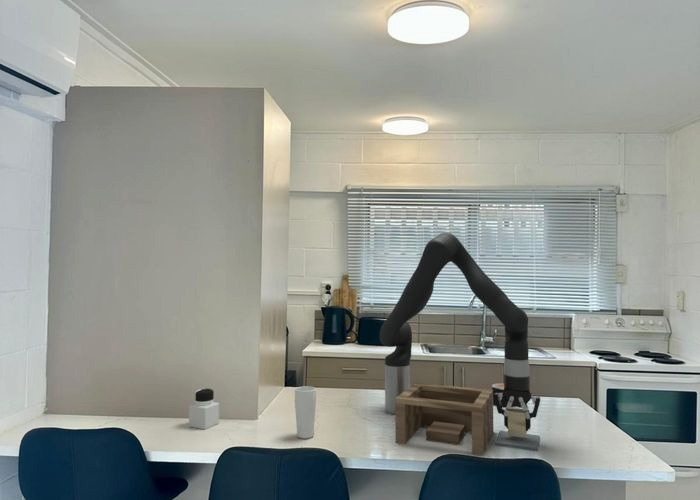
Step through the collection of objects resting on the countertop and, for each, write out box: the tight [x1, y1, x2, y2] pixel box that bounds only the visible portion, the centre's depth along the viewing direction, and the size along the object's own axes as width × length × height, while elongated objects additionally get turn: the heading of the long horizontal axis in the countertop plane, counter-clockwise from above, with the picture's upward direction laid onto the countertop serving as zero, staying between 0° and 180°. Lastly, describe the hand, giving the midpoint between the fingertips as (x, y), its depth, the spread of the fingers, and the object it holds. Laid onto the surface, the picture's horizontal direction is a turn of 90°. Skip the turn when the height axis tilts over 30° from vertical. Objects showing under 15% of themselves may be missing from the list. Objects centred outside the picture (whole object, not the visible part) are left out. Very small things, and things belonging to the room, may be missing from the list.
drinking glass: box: [294, 385, 317, 440], centre depth 157 cm, size 7×7×15 cm
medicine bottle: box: [188, 388, 220, 430], centre depth 168 cm, size 7×7×12 cm
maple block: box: [507, 407, 528, 437], centre depth 152 cm, size 5×5×7 cm
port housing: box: [394, 382, 494, 457], centre depth 156 cm, size 22×26×14 cm
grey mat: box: [494, 430, 540, 452], centre depth 152 cm, size 12×12×1 cm
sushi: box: [491, 382, 508, 409], centre depth 193 cm, size 8×8×8 cm
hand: (517, 428), depth 152 cm, fingers closed on maple block, 5 cm apart
